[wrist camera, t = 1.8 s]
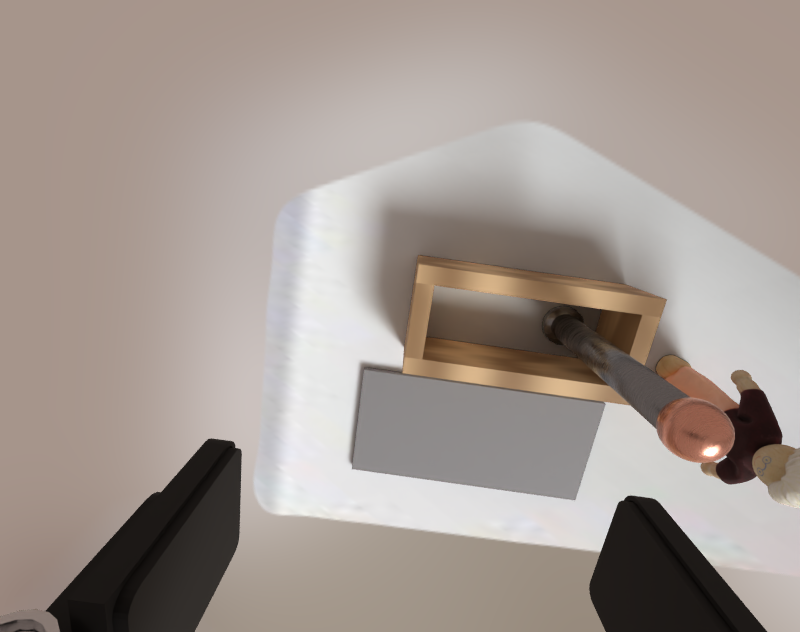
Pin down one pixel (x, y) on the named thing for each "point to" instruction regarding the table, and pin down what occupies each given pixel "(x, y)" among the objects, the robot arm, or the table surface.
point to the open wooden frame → (619, 324)
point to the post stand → (646, 391)
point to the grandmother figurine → (743, 432)
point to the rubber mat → (474, 434)
